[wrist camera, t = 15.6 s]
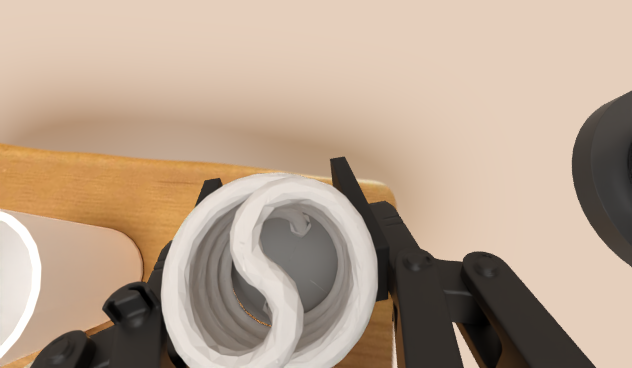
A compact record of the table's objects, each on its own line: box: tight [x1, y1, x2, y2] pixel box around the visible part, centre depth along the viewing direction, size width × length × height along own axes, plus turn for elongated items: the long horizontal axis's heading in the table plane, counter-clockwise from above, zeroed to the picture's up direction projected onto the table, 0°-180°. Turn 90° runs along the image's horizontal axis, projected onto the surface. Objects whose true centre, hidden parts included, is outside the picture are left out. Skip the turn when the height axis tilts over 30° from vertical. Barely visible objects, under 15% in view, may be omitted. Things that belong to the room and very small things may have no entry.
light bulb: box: [161, 172, 378, 368], centre depth 12 cm, size 6×6×12 cm
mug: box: [0, 209, 143, 368], centre depth 19 cm, size 11×9×10 cm
